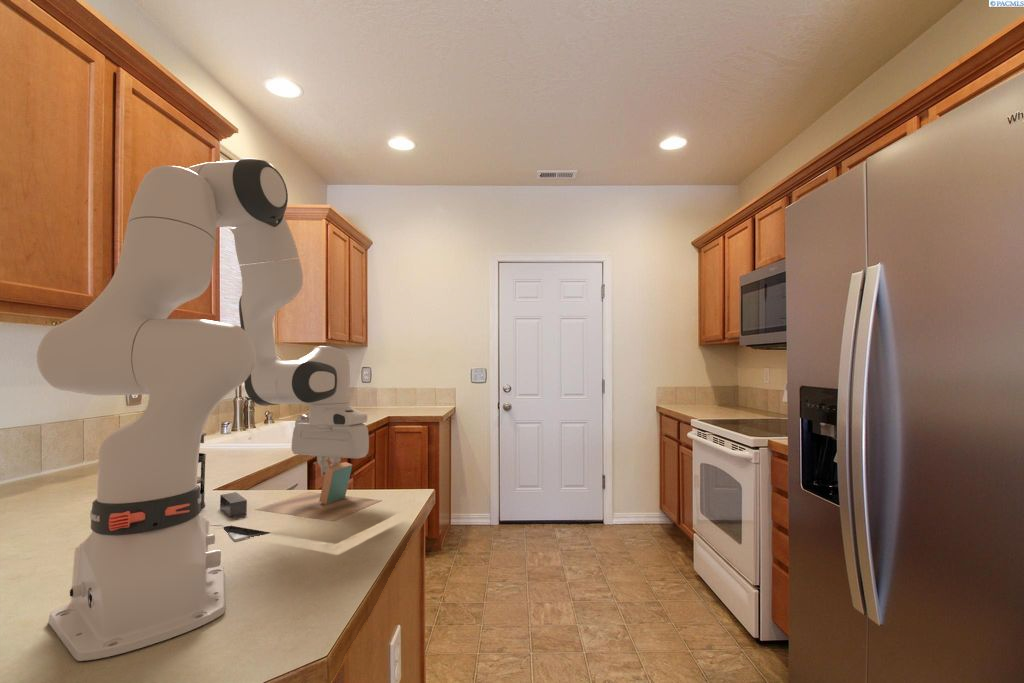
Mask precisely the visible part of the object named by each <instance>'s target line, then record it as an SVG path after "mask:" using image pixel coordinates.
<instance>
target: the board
mask: <svg viewBox="0 0 1024 683" xmlns="http://www.w3.org/2000/svg"><path fill="white" fill-rule="evenodd" d="M320 496H321V492H313V491H308V492H305V493H301V494H299V495H296V496H292V497H289V498H286V499H282V500H281V501H277V502H274V503H271V504H268V505H265V506H261V507H258V508H256V509H254V510H255V511H262V512H269V513H275V514H282V515H287V516H294V517H296V516H297V517H303V518H309V519H316V520H323V521H328V522H329V521H330V522H335V521H337V520H340V519H342V518H344V517H347V516H349V515H352V514H354V513H357V512H359V511H361V510H363V509H366V508H368V507H370V506H373V505H375V504H378V503H380V502H382V501H383V500H381V499H373V498H365V497H364V498H363V497H357V496H348V495H346V496H345V498H342V499H339V500H337V501H334V502H331V503H329V504H324V503H322V502H320V501H319V500H320Z"/></svg>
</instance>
